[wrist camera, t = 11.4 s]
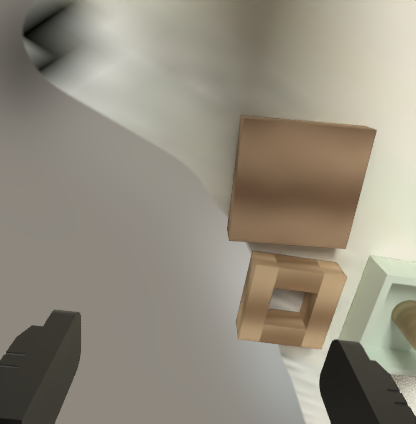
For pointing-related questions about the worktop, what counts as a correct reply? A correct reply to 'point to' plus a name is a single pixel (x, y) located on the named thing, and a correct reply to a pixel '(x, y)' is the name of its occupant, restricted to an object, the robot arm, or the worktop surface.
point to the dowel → (406, 320)
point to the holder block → (291, 280)
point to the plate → (297, 181)
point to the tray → (383, 314)
